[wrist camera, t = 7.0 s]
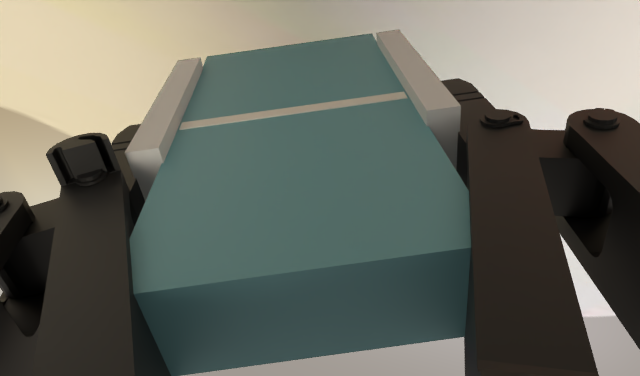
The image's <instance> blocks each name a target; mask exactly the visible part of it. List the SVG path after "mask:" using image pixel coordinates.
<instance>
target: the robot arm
mask: <svg viewBox="0 0 640 376" xmlns="http://www.w3.org/2000/svg"><path fill="white" fill-rule="evenodd" d="M377 45H378V47H379V48H380V50H381V52H382V53H383V55H384V57H385V58H386V60H387V61H388V63H389V65H390V66H391V68H392V70H393V71H394V73H395V75H396V76H397V78H398V80H399V81H400V83H401V85H402V86H403V88H404V89H405V91H406V93H407V94H408V96H409V98H410V99H411V101H412V103H413V104H414V106H415V108H416V109H417V111H418V113H419V114H420V116H421V118H422V119H423V121H424V122H425V124H426V126H429V127H430V129H431V131H432V132H433V134H434V135H435V137H436V139H437V140H438V142H439V144H440V145H441V147H442V148H443V150H444V152H445V153H446V155H447V156H448V158H449V160H450V161H451V163H452V165H453V166H454V168H455V169H456V171H457V173H458V174H459V176H460V178H461V179H462V181H463V182H464V184H465V186H466V187H467V189H468V191H469V207H470V234H471V255H470V269H469V284H468V299H467V313H466V328H465V337H464V338H465V339H464V344H465V376H599V375H598V371H597V368H596V364H595V361H594V357H593V353H592V350H591V346H590V342H589V339H588V336H587V332H586V328H585V324H584V321H583V317H582V313H581V310H580V306H579V302H578V299H577V295H576V291H575V288H574V284H573V281H572V277H571V273H570V270H569V266H568V262H567V259H566V255H565V252H564V248H563V244H562V241H561V237H560V234H561V236H562V237H563V239H564V240H565V242H566V243H567V245H568V246H569V247H570V249H571V250H572V252H573V253H574V255H575V256H576V258H577V259H578V260H579V262H580V263H581V265H582V266H583V268H584V269H585V271H586V272H587V274H588V275H589V276H590V278H591V279H592V281H593V282H594V284H595V285H596V287H597V288H598V290H599V291H600V292H601V294H602V295H603V297H604V298H605V300H606V301H607V303H608V304H609V306H610V307H611V308H612V310H613V311H614V313H615V314H616V316H617V317H618V319H619V320H620V321H621V323H622V324H623V326H624V327H625V329H626V330H627V332H628V333H629V335H630V336H631V337H632V339H633V340H634V342H635V343H636V345H637V346H638V348H639V349H640V123H638V122H637V121H636V120H634V119H633V118H631V117H629V116H627V115H625V114H623V113H619V112H615V111H614V110H611V109H605V110H604V108H595V109H587V110H582V111H577V112H575V113H573V114H571V115H569V117H568V119H567V123H566V129H565V130H535V129H531V128H530V124H529V121H528V120H527V118H526V117H525V116H523V115H521V114H519V113H517V112H513V111H509V110H500V109H495V108H494V107H493V106H492V105H491V103H490V102H489V101H488V100H487V99H486V98H484V96H483V95H482V94H481V93H480V92H478V90H477V89H476V88H475V87H474V86H473V85H472V84H471V83H468V82H466V81H463V80H461V79H451V80H444V81H440V79H439V78H438V77H437V76H436V75H435V73H434V72H433V71H432V70H431V68H430V67H429V66H428V65H427V64H426V62H425V61H424V60H423V59H422V57H421V56H420V55H419V54H418V53H417V51H416V50H415V49H414V48H413V46H412V45H411V44H410V43H409V42H408V40H407V39H406V38H405V37H404V35H403V34H402V33H401V32H400V30H393V31H386V32H379V33H377ZM202 70H203V66H202V62H201V58H193V59H186V60H179V61H178V62H177V63H176V65H175V67H174V68H173V70H172V72H171V74H170V75H169V77H168V79H167V80H166V82H165V84H164V86H163V87H162V89H161V91H160V92H159V94H158V96H157V98H156V99H155V101H154V103H153V105H152V106H151V108H150V110H149V111H148V113H147V115H146V117H145V118H144V120H143V122H142V123H141V124H138V125H131V126H128V127H127V128H126V129H124V130H123V131H121V132H120V133H119V134H117V136H116V137H115V139H114V140H113V142H112V145H111V143H110V141H109V138H108V137H107V135H105V134H102V133H88V134H82V135H78V136H74V137H71V138H69V139H66V140H64V141H62V142H60V143H57V144H56V145H55V146H53V147H52V148H50V149H49V151H48V152H47V153H46V156H47V158H48V160H49V162H50V164H51V166H52V168H53V171H54V173H55V175H56V177H57V178H58V181H59V183H60V185H61V192H60V197H59V198H57V199H54V200H51V201H47V202H44V203H40V204H37V205H34V206H29V205H28V203H27V201H26V199H25V197H24V196H23V194H22V193H19V192H15V191H13V192H3V193H0V288H1V290H2V291H3V293H2V295H1V296H0V376H171V374H170V372H169V370H168V368H167V366H166V363H165V361H164V359H163V357H162V355H161V353H160V350H159V348H158V346H157V344H156V342H155V339H154V337H153V335H152V333H151V331H150V329H149V326H148V324H147V322H146V320H145V318H144V316H143V313H142V311H141V309H140V307H139V305H138V302H137V300H136V298H135V296H134V293H133V280H132V267H131V253H130V240H129V239H130V236H131V234H132V232H133V229H134V227H135V225H136V222H137V220H138V218H139V215H140V213H141V211H142V208H143V206H144V204H145V201H146V199H147V197H148V194H149V192H150V190H151V187H152V185H153V183H154V180H155V178H156V176H157V173H158V171H159V168H160V166H161V164H162V163H164V161H165V158H166V156H167V153H168V151H169V149H170V146H171V144H172V142H173V139H174V137H175V134H176V132H177V130H178V127H179V125H180V123H181V120H182V118H183V115H184V113H185V111H186V108H187V106H188V104H189V101H190V99H191V96H192V94H193V92H194V89H195V87H196V85H197V82H198V80H199V77H200V75H201V73H202Z"/></svg>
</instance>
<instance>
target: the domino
mask: <svg viewBox="0 0 640 376" xmlns="http://www.w3.org/2000/svg"><path fill="white" fill-rule="evenodd" d="M129 240H130V253H131V267H132V280H133V293H134V296H135V298H136V300H137V302H138V305H139V307H140V309H141V311H142V313H143V316H144V318H145V320H146V322H147V324H148V326H149V329H150V331H151V333H152V335H153V337H154V339H155V342H156V344H157V346H158V348H159V350H160V353H161V355H162V357H163V359H164V361H165V363H166V366H167V368H168V370H169V372H170V374H171V376H180V375H188V374H195V373H203V372H210V371H217V370H225V369H232V368H239V367H247V366H254V365H261V364H268V363H276V362H283V361H290V360H298V359H305V358H312V357H319V356H326V355H334V354H341V353H349V352H356V351H363V350H371V349H378V348H385V347H392V346H400V345H407V344H414V343H422V342H429V341H436V340H444V339H451V338H458V337H465V328H466V313H467V299H468V284H469V269H470V255H471V234H470V207H469V191H468V189H467V187H466V186H465V184H464V182H463V181H462V179H461V178H460V176H459V174H458V173H457V171H456V169H455V168H454V166H453V165H452V163H451V161H450V160H449V158H448V156H447V155H446V153H445V152H444V150H443V148H442V147H441V145H440V144H439V142H438V140H437V139H436V137H435V135H434V134H433V132H432V131H431V129H430V127H429V126H426V124H425V122H424V121H423V119H422V118H421V116H420V114H419V113H418V111H417V109H416V108H415V106H414V104H413V103H412V101H411V99H410V98H409V96H408V94H407V93H406V91H405V89H404V88H403V86H402V85H401V83H400V81H399V80H398V78H397V76H396V75H395V73H394V71H393V70H392V68H391V66H390V65H389V63H388V61H387V60H386V58H385V57H384V55H383V53H382V52H381V50H380V48H379V47H378V45H377V41H376V40H375V38H374V37H373V35H372V34H365V35H358V36H351V37H344V38H336V39H329V40H322V41H315V42H308V43H301V44H294V45H286V46H279V47H272V48H265V49H258V50H251V51H243V52H236V53H229V54H222V55H215V56H208V57H207V58H206V61H205V63H204V65H203V70H202V73H201V75H200V77H199V80H198V82H197V85H196V87H195V89H194V92H193V94H192V96H191V99H190V101H189V104H188V106H187V108H186V111H185V113H184V115H183V118H182V120H181V123H180V125H179V127H178V130H177V132H176V134H175V137H174V139H173V142H172V144H171V146H170V149H169V151H168V153H167V156H166V158H165V161H164V163H162V164H161V166H160V168H159V171H158V173H157V176H156V178H155V180H154V183H153V185H152V187H151V190H150V192H149V194H148V197H147V199H146V201H145V204H144V206H143V208H142V211H141V213H140V215H139V218H138V220H137V222H136V225H135V227H134V229H133V232H132V234H131V236H130V239H129Z"/></svg>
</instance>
